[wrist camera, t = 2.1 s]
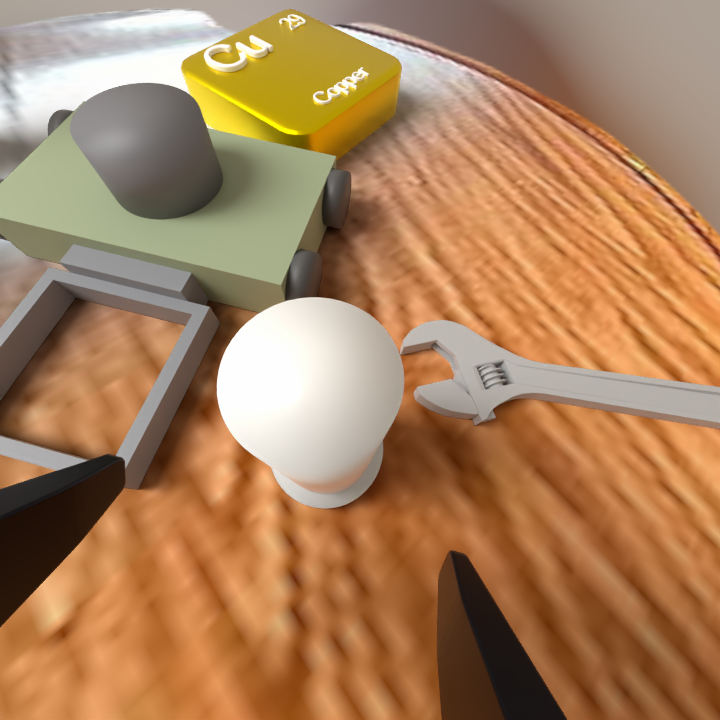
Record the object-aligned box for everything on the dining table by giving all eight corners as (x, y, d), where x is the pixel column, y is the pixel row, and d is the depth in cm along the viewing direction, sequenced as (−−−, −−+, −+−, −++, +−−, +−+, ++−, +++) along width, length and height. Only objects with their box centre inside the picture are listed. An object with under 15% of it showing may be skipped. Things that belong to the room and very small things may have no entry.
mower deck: (236, 517, 18) (167, 520, 11) (-133, 413, 20) (-414, 354, 12) (350, 204, 28) (354, 98, 21) (102, 149, 30) (25, 30, 22)
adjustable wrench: (760, 402, 24) (791, 394, 22) (789, 500, 21) (827, 499, 19) (407, 324, 24) (412, 311, 23) (392, 409, 22) (396, 400, 20)
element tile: (305, 189, 30) (299, 133, 25) (189, 116, 33) (166, 56, 28) (403, 112, 35) (412, 55, 30) (295, 56, 38) (289, -3, 34)
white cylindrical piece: (311, 534, 18) (267, 566, 7) (252, 436, 20) (149, 347, 9) (402, 462, 20) (478, 402, 9) (341, 379, 22) (342, 247, 11)
